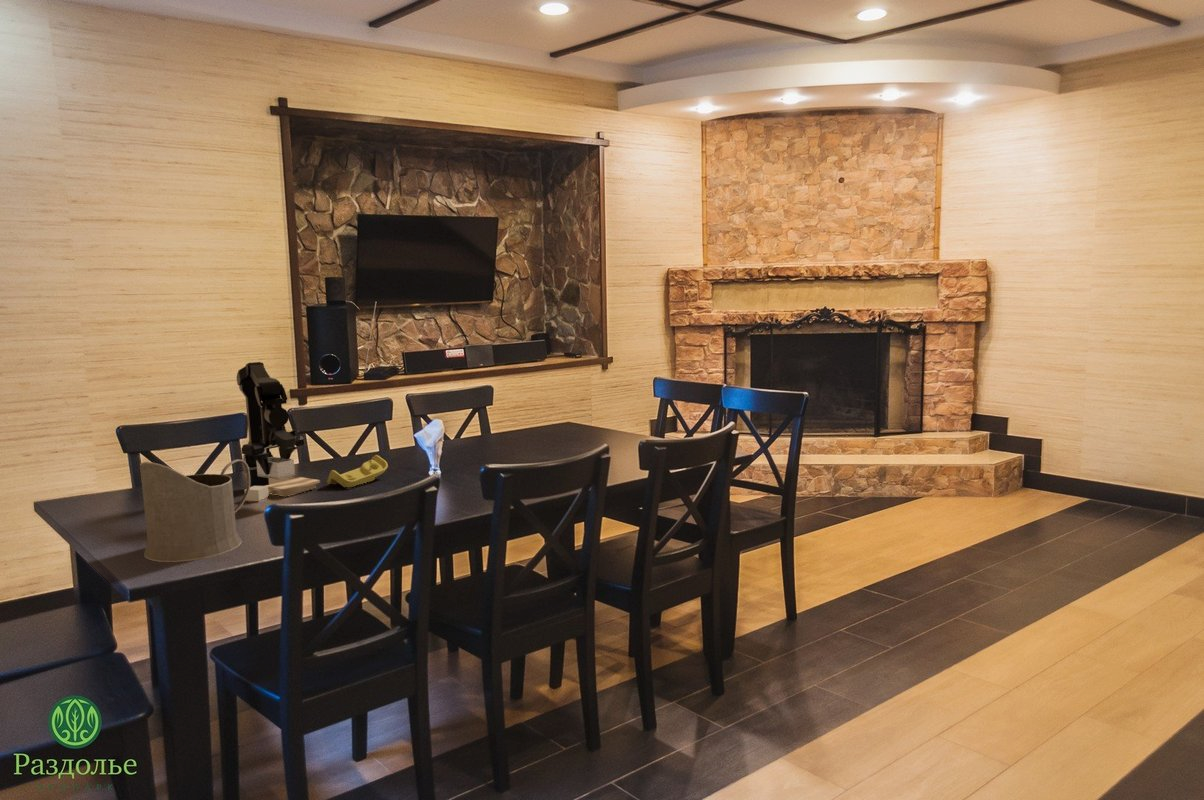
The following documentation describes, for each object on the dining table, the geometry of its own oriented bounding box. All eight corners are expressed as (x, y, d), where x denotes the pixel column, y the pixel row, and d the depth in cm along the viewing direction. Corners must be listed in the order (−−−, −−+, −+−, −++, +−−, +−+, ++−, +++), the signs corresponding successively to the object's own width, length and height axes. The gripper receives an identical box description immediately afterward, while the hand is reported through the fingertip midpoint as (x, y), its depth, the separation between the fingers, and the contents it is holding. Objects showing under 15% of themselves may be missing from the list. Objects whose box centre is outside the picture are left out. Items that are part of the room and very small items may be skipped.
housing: (257, 476, 277) (256, 460, 276) (274, 472, 282) (273, 456, 281) (278, 479, 271) (276, 463, 270) (294, 475, 276) (293, 459, 275)
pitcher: (124, 556, 231) (113, 460, 227) (223, 523, 259) (216, 437, 255) (187, 566, 221) (177, 466, 217) (284, 531, 249) (276, 442, 245)
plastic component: (349, 483, 295) (329, 467, 299) (345, 501, 298) (325, 485, 302) (393, 466, 311) (373, 452, 315) (389, 484, 314) (369, 469, 318)
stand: (264, 495, 291) (264, 486, 291) (300, 485, 302) (300, 477, 302) (284, 498, 285) (283, 489, 285) (320, 489, 297) (319, 480, 297)
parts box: (245, 501, 284) (244, 489, 283) (255, 497, 288) (254, 485, 288) (259, 502, 282) (258, 490, 282) (269, 498, 287) (267, 486, 286)
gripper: (261, 429, 262) (266, 481, 264) (314, 419, 277) (318, 469, 279) (238, 426, 268) (242, 477, 270) (291, 417, 283) (294, 465, 286)
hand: (275, 472), depth 276 cm, fingers closed on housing, 6 cm apart
